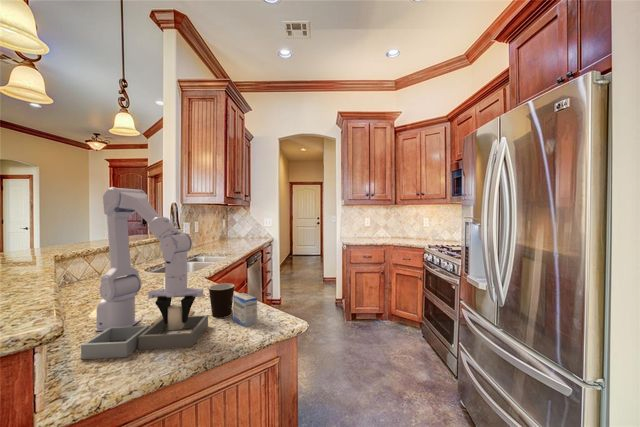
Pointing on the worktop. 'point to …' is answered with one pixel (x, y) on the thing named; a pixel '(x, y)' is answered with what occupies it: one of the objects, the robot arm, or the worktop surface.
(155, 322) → the tan board
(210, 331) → the worktop surface
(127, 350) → the slate bin
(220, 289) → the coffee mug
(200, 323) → the charcoal bin
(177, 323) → the cream capsule
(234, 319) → the medicine box
